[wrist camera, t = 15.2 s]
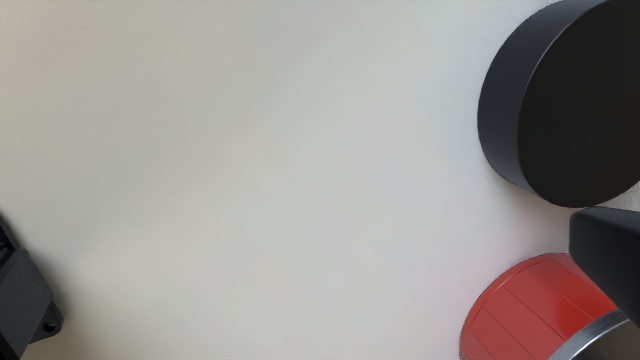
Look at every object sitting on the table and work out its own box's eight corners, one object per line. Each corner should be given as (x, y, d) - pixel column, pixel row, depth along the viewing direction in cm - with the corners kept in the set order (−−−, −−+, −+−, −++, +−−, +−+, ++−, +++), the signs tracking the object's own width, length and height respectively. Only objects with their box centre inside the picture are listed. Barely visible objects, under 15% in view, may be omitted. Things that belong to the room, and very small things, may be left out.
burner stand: (482, 210, 24) (519, 234, 21) (469, 25, 20) (512, 26, 17) (630, 157, 25) (682, 174, 23) (645, -24, 21) (710, -30, 19)
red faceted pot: (465, 411, 30) (525, 499, 24) (450, 288, 25) (519, 361, 20) (597, 354, 31) (681, 424, 26) (605, 229, 27) (708, 282, 21)
